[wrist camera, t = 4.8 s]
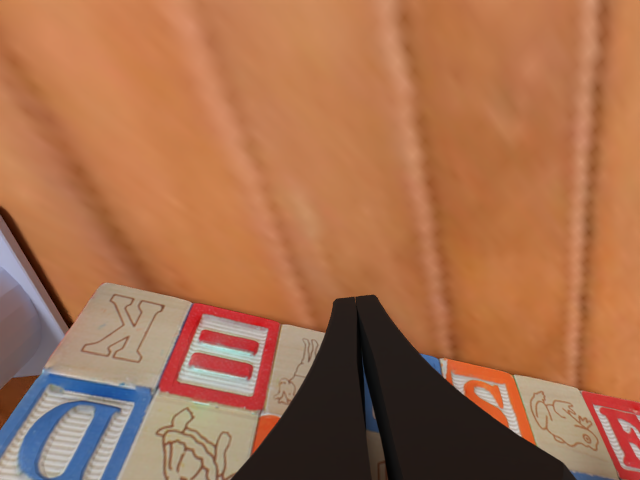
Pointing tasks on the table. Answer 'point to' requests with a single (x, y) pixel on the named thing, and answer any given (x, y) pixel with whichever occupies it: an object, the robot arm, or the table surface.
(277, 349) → the stack of blocks
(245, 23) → the table surface
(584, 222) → the table surface
